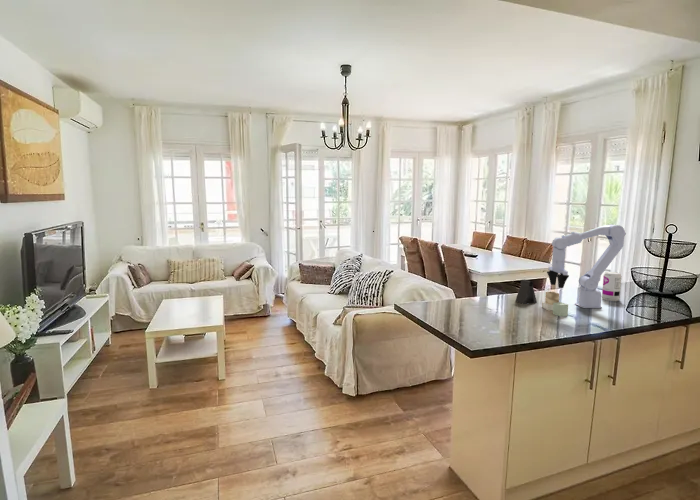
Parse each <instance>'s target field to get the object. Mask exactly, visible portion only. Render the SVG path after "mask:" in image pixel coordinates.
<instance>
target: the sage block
mask: <svg viewBox="0 0 700 500" xmlns="http://www.w3.org/2000/svg"><path fill="white" fill-rule="evenodd" d="M552 314H553V315H555V316H558V317H566V316H569V315H568V314H569V304H568V303H565V302H563V301H562V302H561V301H559V302H557V303H553V310H552Z"/></svg>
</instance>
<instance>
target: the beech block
mask: <svg viewBox="0 0 700 500" xmlns="http://www.w3.org/2000/svg"><path fill="white" fill-rule="evenodd" d="M544 302H545V303H548V304H550V305H553V303H557V302H560V293H559V292H556V291H545V299H544Z"/></svg>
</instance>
